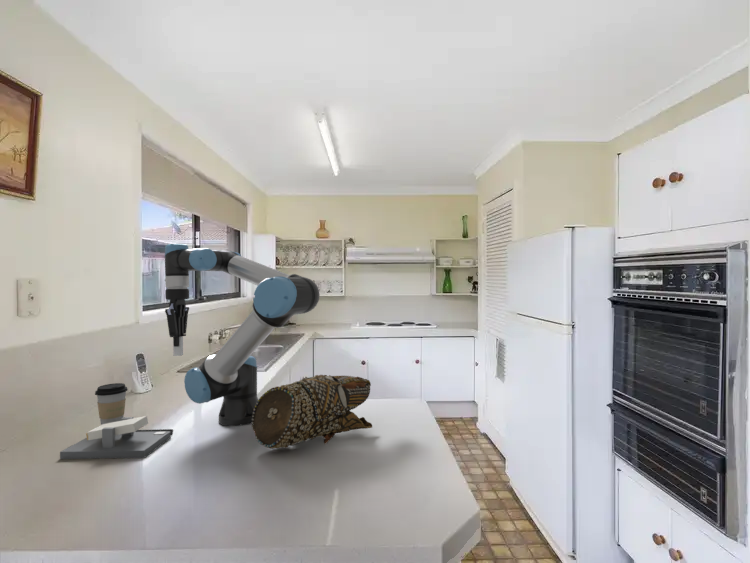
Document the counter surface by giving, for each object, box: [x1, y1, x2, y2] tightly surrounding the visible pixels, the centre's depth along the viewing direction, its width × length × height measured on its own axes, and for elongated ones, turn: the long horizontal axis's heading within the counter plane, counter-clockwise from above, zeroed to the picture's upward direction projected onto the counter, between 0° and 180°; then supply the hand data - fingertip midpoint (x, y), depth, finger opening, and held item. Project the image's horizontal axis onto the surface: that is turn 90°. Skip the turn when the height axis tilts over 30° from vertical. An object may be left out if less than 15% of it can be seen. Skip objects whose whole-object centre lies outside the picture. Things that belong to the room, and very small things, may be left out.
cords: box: [135, 428, 174, 436], centre depth 134 cm, size 17×3×1 cm, turn 90°
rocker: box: [85, 415, 149, 440], centre depth 123 cm, size 14×7×2 cm, turn 90°
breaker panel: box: [59, 416, 172, 460], centre depth 123 cm, size 24×15×8 cm, turn 90°
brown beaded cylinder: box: [251, 374, 373, 449], centre depth 128 cm, size 24×22×35 cm
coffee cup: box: [94, 382, 129, 425], centre depth 139 cm, size 9×9×15 cm
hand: (178, 355), depth 143 cm, fingers closed
